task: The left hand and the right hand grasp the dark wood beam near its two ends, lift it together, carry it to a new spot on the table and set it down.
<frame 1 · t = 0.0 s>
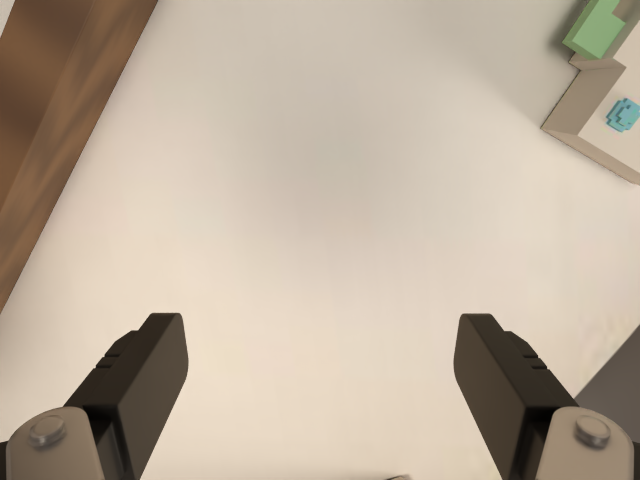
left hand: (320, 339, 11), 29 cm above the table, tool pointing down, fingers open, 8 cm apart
beam: (32, 196, 40), on the table
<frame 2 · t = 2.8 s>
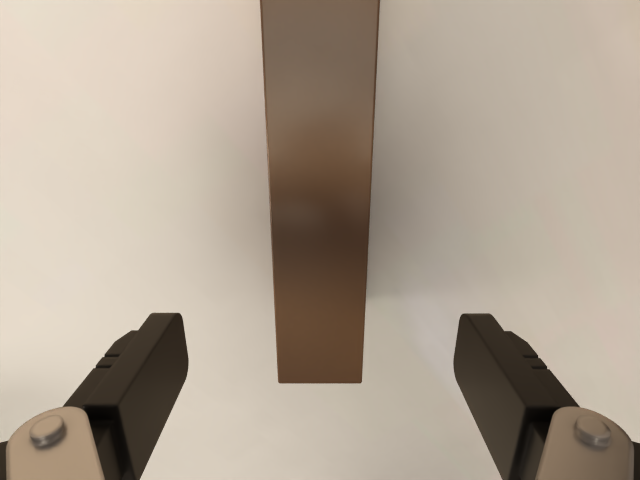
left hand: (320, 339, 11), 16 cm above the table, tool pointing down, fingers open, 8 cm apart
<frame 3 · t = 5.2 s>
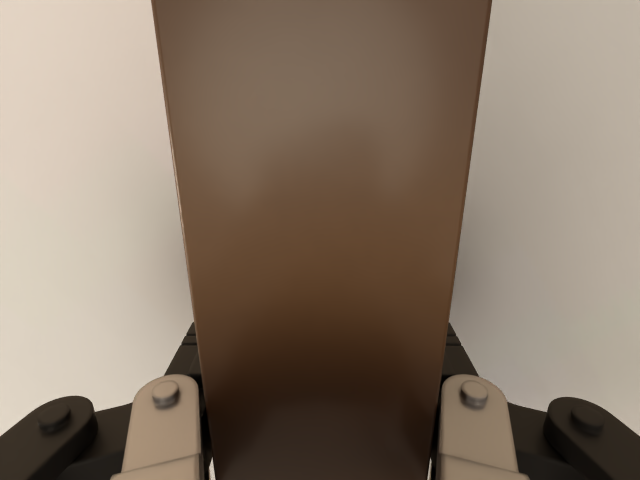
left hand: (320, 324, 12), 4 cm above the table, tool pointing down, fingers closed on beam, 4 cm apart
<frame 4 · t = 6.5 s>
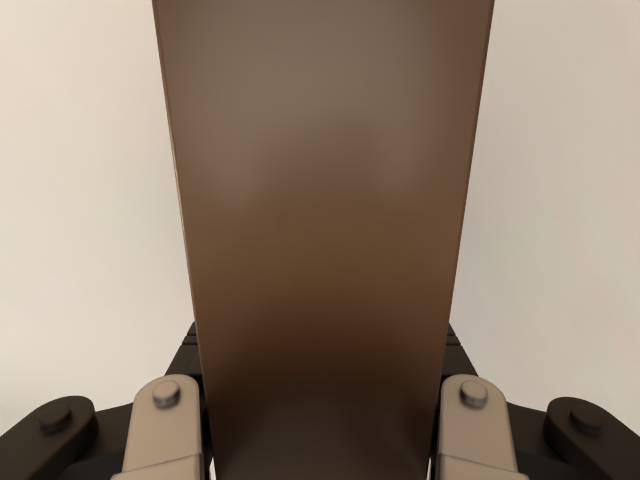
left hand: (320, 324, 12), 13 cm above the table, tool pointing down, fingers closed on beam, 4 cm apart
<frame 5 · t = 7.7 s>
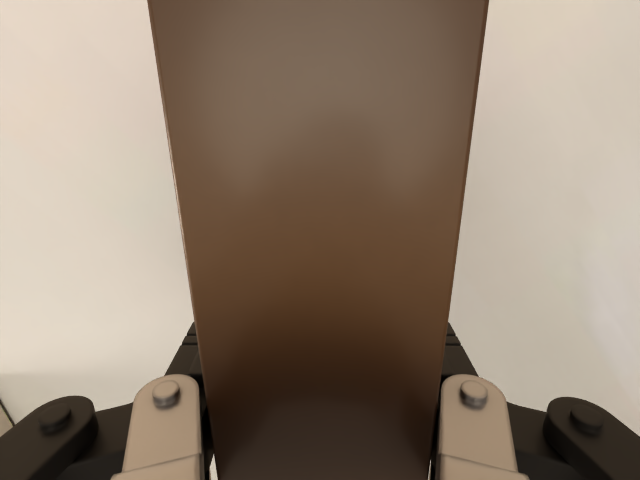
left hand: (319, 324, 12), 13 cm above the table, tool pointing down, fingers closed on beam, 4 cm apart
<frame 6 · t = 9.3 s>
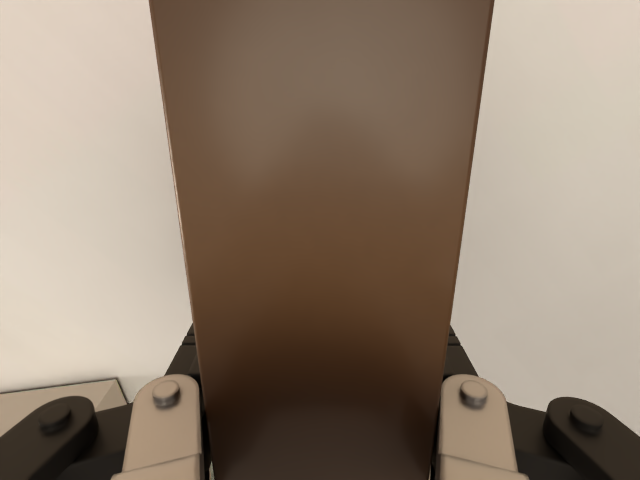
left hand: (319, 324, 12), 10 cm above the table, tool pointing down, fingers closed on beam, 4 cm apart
when the left hand's fingers open (5 cm above the table, at t = 10.2 s): beam drops 1 cm, on the table.
when the right hand's fingers open (5 cm above the table, at t = 10.2 s): beam drops 1 cm, on the table.
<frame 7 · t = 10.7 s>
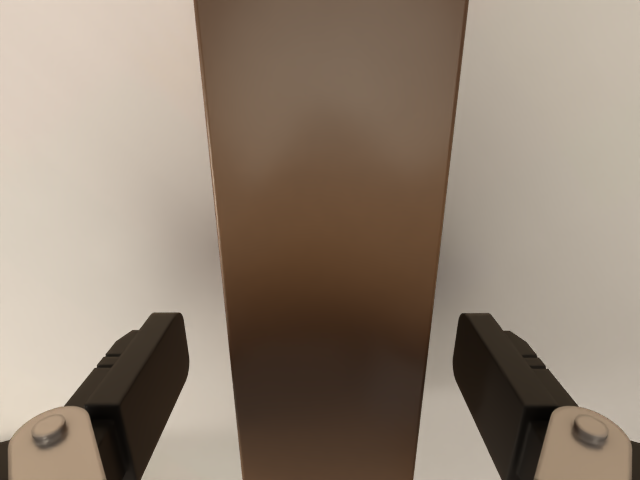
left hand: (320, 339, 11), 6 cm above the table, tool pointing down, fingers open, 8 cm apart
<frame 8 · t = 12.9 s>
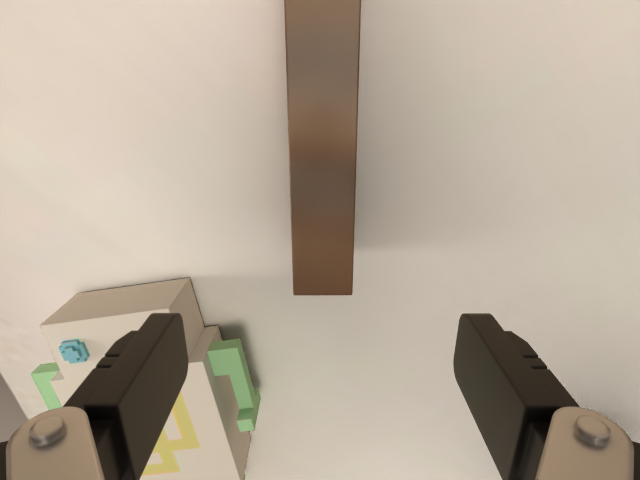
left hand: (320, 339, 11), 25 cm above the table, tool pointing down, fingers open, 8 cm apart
decorative block: (171, 387, 44), on the table
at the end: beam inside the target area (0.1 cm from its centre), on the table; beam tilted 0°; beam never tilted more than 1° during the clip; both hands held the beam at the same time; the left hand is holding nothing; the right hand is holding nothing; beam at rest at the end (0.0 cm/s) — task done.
